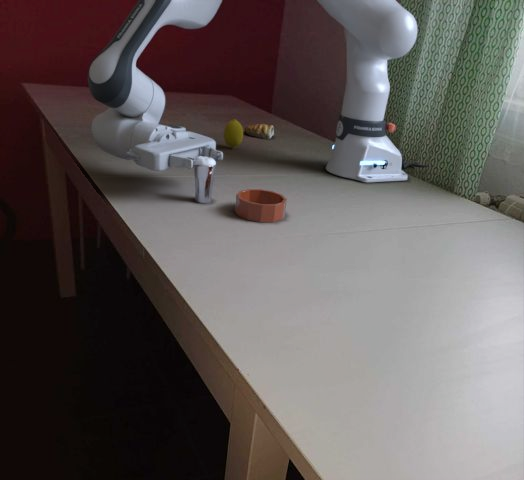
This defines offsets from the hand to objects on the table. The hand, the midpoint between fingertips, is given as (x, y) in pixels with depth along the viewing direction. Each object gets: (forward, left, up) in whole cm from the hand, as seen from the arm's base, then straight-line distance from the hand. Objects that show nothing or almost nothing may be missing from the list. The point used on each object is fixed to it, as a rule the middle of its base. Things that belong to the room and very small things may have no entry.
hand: (207, 160), depth 110 cm
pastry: (-32, -64, -9) cm, 72 cm away
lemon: (-18, -46, -9) cm, 50 cm away
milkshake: (0, 0, -9) cm, 9 cm away
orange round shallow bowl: (-10, +8, -8) cm, 15 cm away
